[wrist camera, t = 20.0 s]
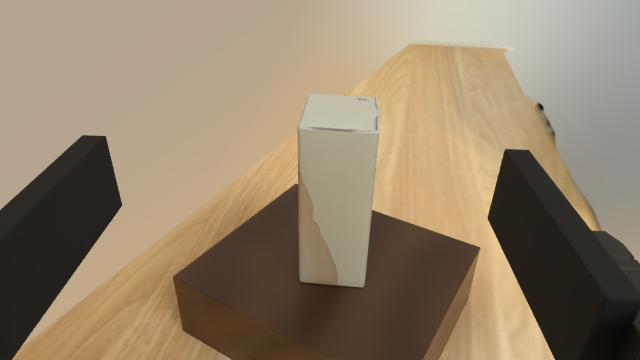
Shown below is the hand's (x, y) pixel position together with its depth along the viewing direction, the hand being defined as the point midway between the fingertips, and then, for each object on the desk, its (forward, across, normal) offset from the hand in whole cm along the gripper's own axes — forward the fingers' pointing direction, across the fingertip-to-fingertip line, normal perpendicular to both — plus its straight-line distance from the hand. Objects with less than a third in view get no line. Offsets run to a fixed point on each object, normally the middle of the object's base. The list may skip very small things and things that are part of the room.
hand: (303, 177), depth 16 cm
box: (+11, +2, -13) cm, 17 cm away
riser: (+11, +1, -18) cm, 21 cm away
